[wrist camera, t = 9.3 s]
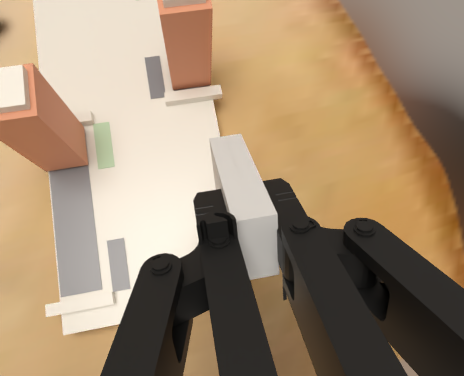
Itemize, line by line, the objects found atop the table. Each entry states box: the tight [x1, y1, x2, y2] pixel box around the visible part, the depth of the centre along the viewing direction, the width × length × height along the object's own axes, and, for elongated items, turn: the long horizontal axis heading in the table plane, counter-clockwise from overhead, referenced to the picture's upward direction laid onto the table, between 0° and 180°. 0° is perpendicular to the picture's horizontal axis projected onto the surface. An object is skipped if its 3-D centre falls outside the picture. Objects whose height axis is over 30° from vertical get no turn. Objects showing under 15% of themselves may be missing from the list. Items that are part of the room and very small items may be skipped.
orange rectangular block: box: [157, 0, 212, 90], centre depth 27 cm, size 3×3×10 cm
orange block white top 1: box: [0, 63, 88, 172], centre depth 24 cm, size 3×3×10 cm
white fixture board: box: [33, 0, 222, 335], centre depth 31 cm, size 14×30×3 cm, turn 11°
